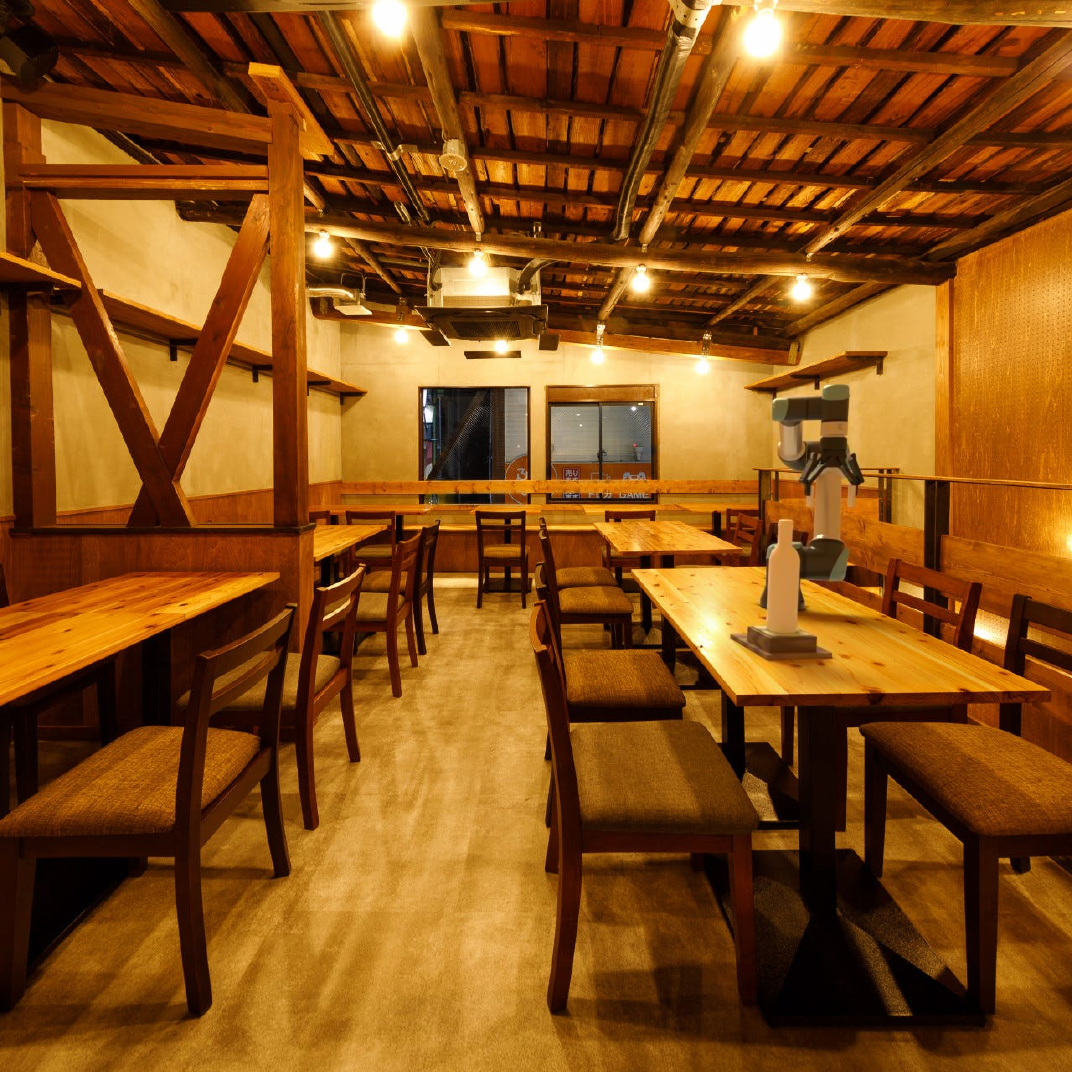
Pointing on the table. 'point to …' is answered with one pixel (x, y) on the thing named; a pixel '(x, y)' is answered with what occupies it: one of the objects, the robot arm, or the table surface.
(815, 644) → the stand
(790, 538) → the bottle
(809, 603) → the table surface
